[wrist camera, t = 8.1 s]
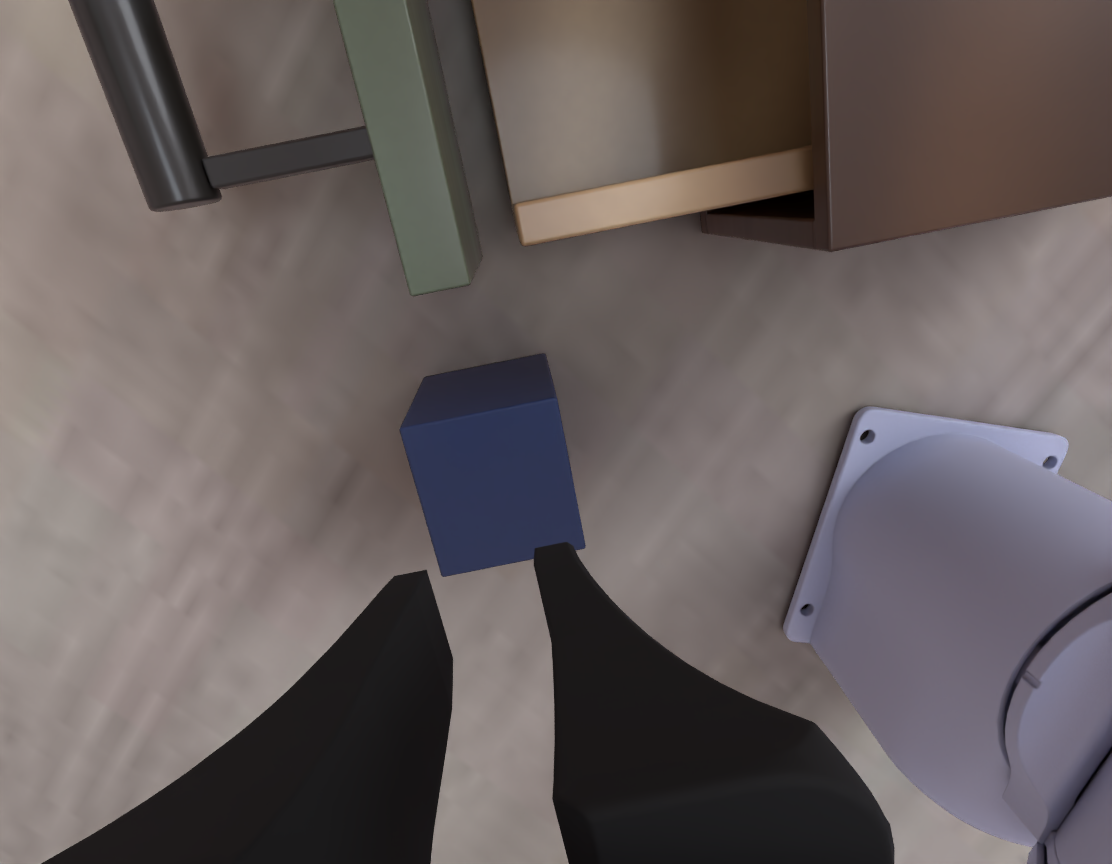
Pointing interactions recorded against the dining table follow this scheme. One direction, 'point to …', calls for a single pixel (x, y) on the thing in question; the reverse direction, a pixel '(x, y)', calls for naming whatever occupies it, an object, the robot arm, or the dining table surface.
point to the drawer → (506, 116)
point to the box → (491, 464)
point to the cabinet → (943, 119)
